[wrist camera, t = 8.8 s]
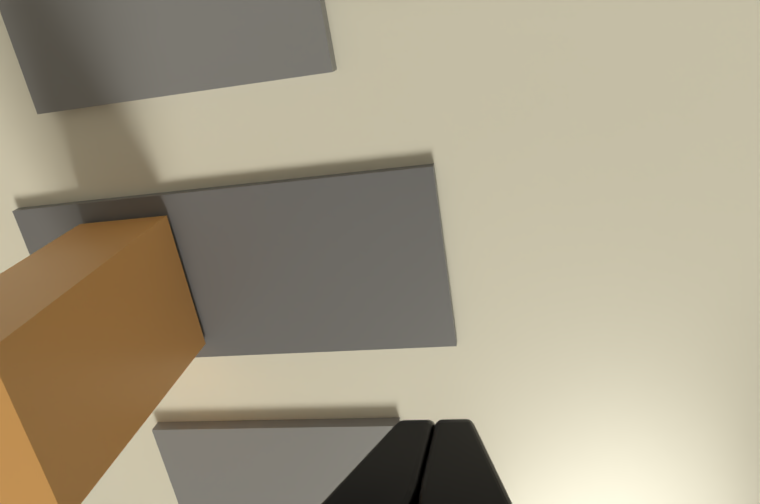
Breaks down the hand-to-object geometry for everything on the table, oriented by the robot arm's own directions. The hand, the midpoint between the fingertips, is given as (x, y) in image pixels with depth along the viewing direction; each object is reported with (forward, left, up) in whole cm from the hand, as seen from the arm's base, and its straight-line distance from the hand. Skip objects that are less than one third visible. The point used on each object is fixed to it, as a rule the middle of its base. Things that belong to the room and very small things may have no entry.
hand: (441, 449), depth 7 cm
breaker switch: (+7, 0, -5) cm, 9 cm away
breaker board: (+5, 0, -9) cm, 10 cm away
